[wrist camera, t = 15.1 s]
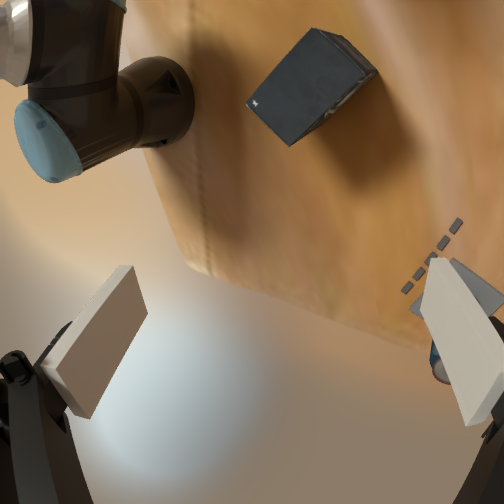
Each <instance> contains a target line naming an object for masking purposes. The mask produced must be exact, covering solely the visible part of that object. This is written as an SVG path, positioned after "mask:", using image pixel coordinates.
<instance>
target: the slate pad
mask: <svg viewBox="0 0 504 504" xmlns="http://www.w3.org/2000/svg"><path fill="white" fill-rule="evenodd" d="M450 264H451V265H452V266H453V268H454V269H455V271H456V272H457V273H458V275H459V276H460V277H461V279H462V280H463V281H464V283H465V284H466V286H467V287H468V289H469V290H470V291H471V293H472V294H473V295H474V296H475V297H476V298H477V299H478V301H479V303H480V306H481V308H482V309H483V311H484V312H485V314H486V315H487V317H489V316H490V315H492V314H493V313H494V312H495V311H496V310H497V309H498V308H499V307H500V306H501V305H502V304H503V303H504V295H503V294H502V293H500V292H499V291H498V290H496V289H495V288H494V287H493V286H491V285H490V284H489V283H487V282H486V281H485V280H483V279H482V278H481V277H479V276H478V275H477V274H475V273H474V272H473V271H471V270H470V269H468V268H467V267H466V266H464V265H463V264H462V263H460V262H459V261H457V260H456V259H455V258H452V259H451V261H450ZM423 294H424V292H423V293H422V294H421V296H420V297H419V298H418V299H417V300H416V301H415V302H414V303H413V304H412V305H411V306H410V308H409V311H411V312H413V313H414V314H416V315H417V316H419V317H420V318H422V319H424V318H423V316H422V314H421V311H420V307H421V303H422V299H423Z"/></svg>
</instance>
